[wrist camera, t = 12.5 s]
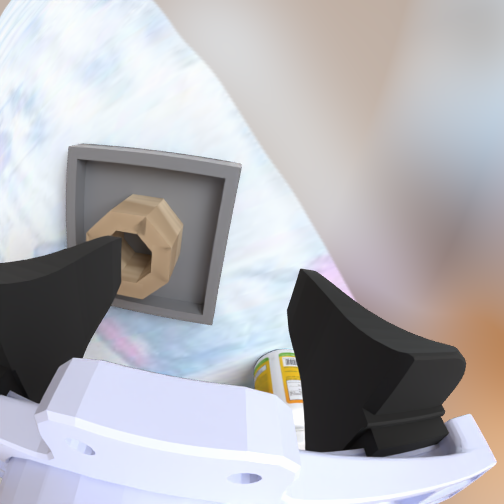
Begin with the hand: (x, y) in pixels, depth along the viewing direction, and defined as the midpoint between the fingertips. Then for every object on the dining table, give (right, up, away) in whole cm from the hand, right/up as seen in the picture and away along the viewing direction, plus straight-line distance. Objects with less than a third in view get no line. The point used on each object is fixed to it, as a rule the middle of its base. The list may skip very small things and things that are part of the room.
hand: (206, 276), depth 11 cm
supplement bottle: (+5, -10, +15) cm, 19 cm away
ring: (-6, +2, +8) cm, 10 cm away
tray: (-6, +2, +9) cm, 11 cm away
